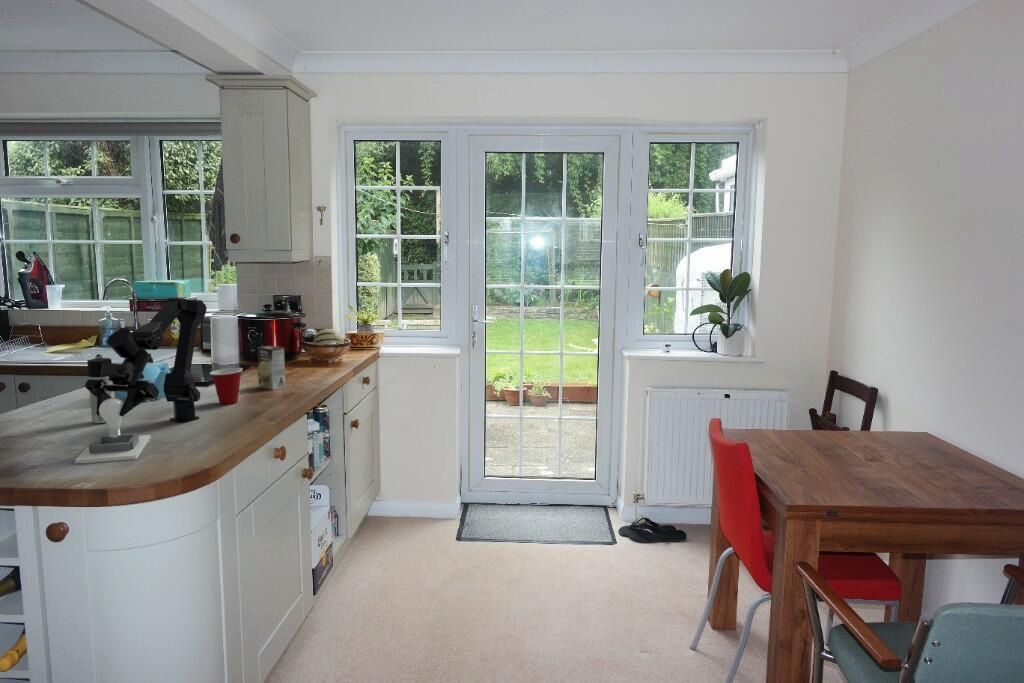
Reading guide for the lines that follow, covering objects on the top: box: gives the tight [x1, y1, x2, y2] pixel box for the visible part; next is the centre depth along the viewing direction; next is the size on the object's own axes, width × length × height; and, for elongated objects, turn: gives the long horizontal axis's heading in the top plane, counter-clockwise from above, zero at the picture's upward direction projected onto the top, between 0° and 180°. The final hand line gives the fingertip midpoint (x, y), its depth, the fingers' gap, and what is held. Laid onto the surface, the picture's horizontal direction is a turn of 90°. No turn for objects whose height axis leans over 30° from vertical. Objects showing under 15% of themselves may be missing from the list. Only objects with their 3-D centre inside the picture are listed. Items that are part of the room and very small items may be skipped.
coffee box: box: [256, 345, 286, 391], centre depth 267 cm, size 9×6×16 cm
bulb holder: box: [74, 432, 152, 465], centre depth 186 cm, size 20×14×3 cm
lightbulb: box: [99, 397, 124, 438], centre depth 185 cm, size 6×6×11 cm
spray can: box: [86, 357, 116, 424], centre depth 214 cm, size 7×7×20 cm
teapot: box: [114, 361, 171, 402], centre depth 249 cm, size 19×19×14 cm
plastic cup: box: [209, 367, 243, 406], centre depth 241 cm, size 11×11×12 cm
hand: (109, 415), depth 184 cm, fingers closed on lightbulb, 6 cm apart
